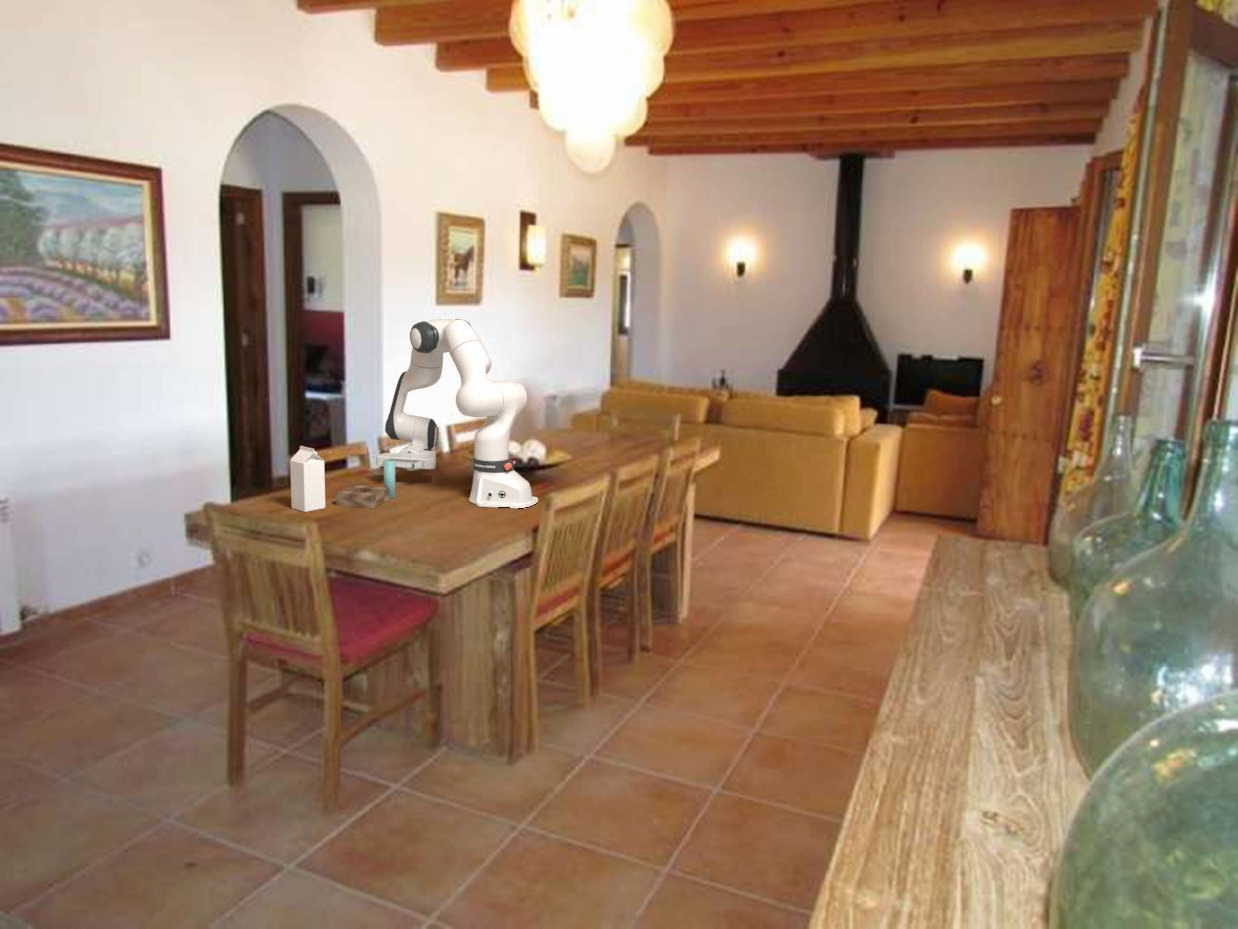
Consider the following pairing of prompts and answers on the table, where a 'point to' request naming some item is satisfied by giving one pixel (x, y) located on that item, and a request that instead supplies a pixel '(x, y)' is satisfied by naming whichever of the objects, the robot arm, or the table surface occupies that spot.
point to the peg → (389, 477)
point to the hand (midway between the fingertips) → (400, 465)
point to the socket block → (362, 496)
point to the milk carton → (307, 480)
